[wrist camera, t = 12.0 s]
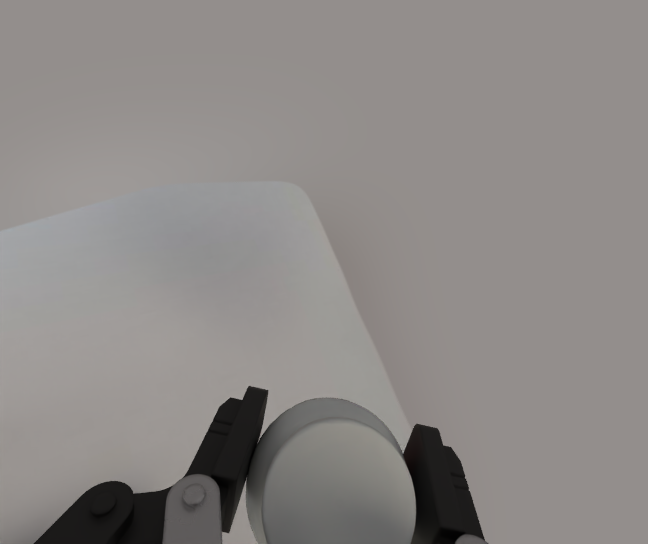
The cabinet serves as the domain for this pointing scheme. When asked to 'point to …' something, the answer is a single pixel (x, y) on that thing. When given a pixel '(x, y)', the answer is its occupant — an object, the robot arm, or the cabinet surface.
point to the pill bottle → (329, 479)
